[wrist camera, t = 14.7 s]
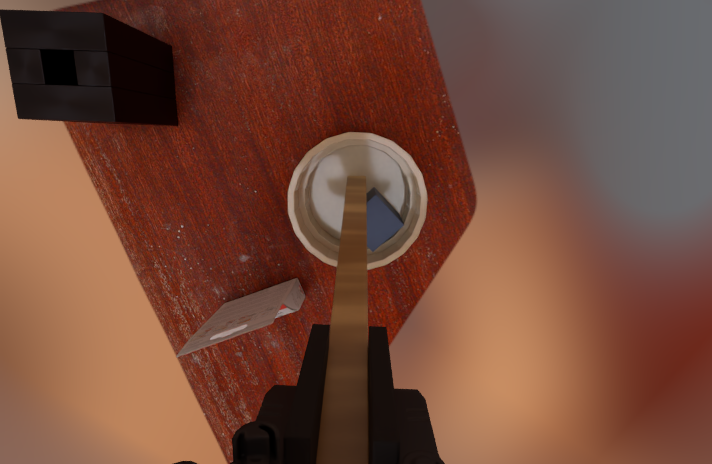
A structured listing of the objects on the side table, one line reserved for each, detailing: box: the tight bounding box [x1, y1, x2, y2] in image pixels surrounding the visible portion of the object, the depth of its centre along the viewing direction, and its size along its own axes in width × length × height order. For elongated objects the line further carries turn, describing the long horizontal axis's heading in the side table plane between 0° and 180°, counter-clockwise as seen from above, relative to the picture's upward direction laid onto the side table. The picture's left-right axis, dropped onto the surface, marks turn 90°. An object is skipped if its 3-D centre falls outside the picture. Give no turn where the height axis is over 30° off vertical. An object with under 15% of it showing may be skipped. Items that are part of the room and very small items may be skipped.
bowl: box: [288, 132, 428, 270], centre depth 37 cm, size 12×12×6 cm
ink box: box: [176, 278, 306, 357], centre depth 37 cm, size 3×9×12 cm, turn 111°
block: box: [366, 187, 404, 252], centre depth 37 cm, size 4×4×4 cm
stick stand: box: [0, 10, 178, 126], centre depth 32 cm, size 7×7×10 cm
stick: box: [316, 176, 369, 464], centre depth 23 cm, size 2×2×30 cm
